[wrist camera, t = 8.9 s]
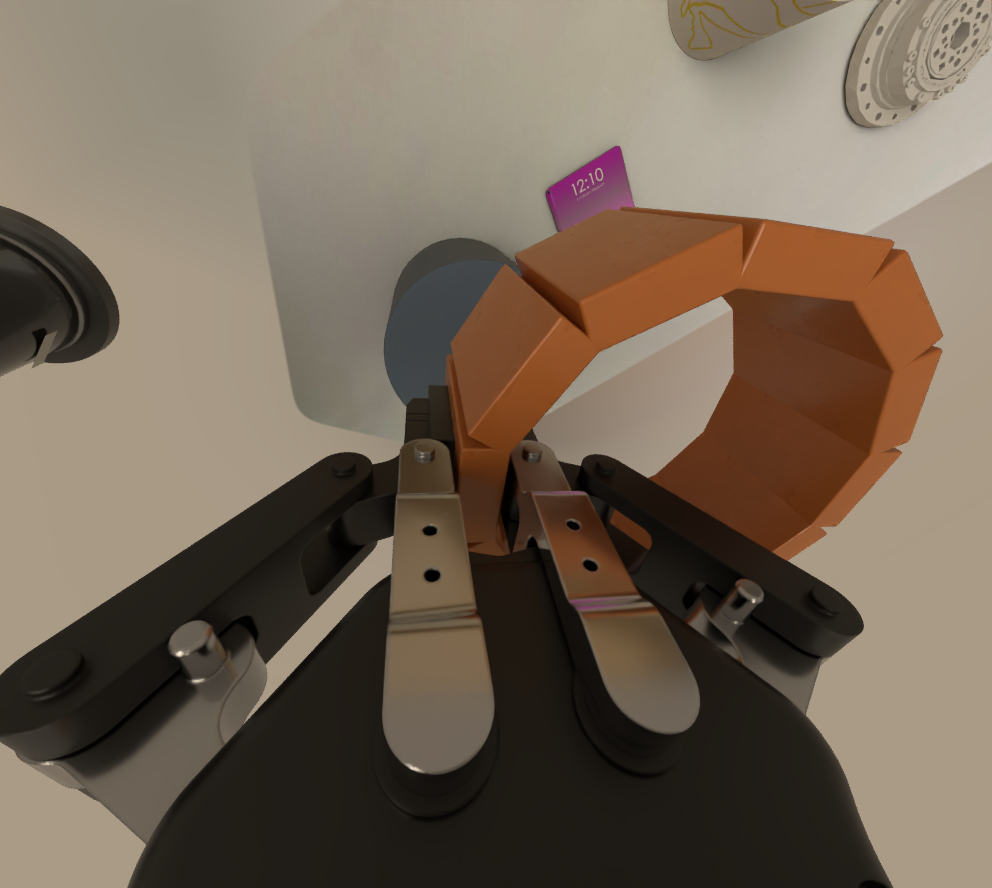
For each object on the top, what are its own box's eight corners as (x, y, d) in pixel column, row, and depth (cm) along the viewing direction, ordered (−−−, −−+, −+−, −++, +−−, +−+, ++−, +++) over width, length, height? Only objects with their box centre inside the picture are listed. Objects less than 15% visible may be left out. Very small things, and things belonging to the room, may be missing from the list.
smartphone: (593, 333, 42) (596, 335, 41) (543, 190, 33) (546, 190, 32) (653, 300, 41) (657, 302, 40) (617, 143, 32) (622, 142, 31)
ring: (437, 518, 18) (444, 643, 13) (455, 179, 10) (485, 173, 6) (680, 510, 21) (761, 611, 16) (830, 238, 13) (1069, 268, 8)
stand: (411, 386, 42) (410, 447, 32) (374, 249, 34) (357, 276, 24) (531, 365, 43) (564, 418, 33) (524, 227, 35) (565, 244, 25)
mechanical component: (839, 26, 30) (843, 154, 36) (895, 5, 27) (890, 150, 32) (971, -77, 28) (954, 76, 34) (1051, -115, 25) (1017, 63, 30)
